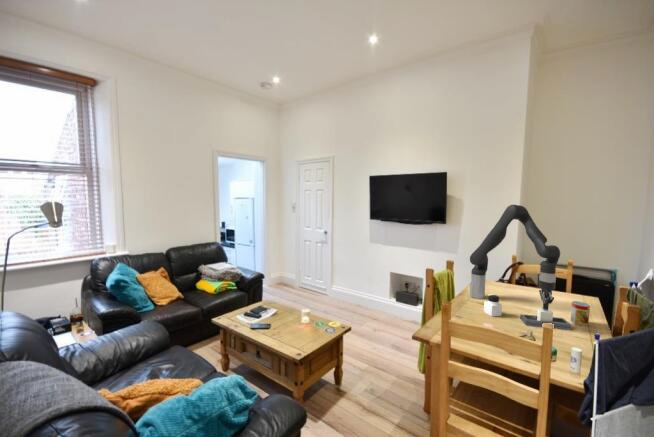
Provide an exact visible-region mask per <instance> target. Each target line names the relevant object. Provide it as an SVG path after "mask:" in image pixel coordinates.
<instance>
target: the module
mask: <svg viewBox="0 0 654 437" xmlns="http://www.w3.org/2000/svg"><path fill="white" fill-rule="evenodd" d="M553 315H554V312H553V311H552V310H550V309H548V310H545V309H543V307H542V308H537V314H536V316H537V320H540V321H550V322H552V319H553V317H554V316H553Z"/></svg>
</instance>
